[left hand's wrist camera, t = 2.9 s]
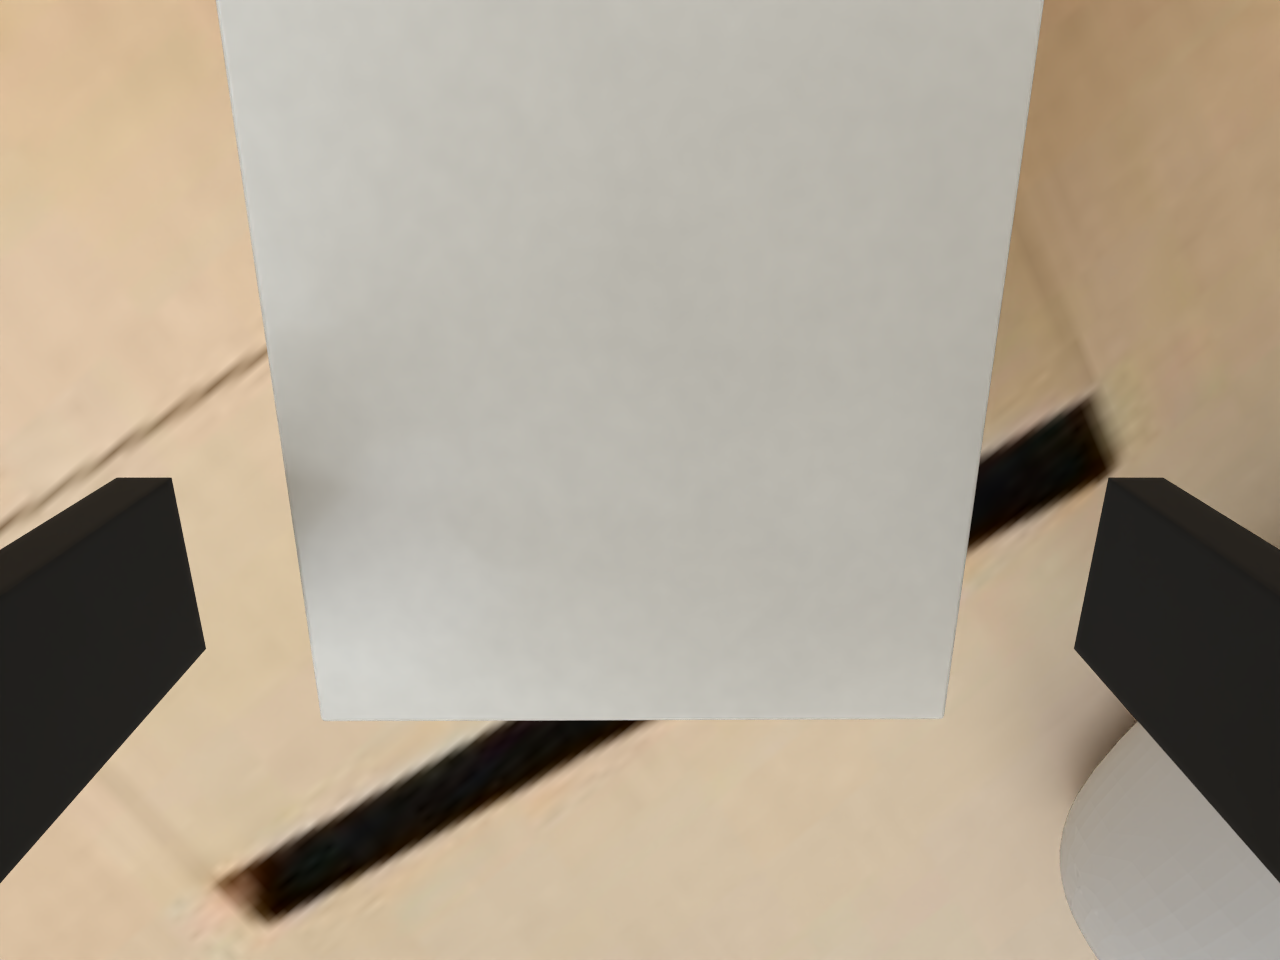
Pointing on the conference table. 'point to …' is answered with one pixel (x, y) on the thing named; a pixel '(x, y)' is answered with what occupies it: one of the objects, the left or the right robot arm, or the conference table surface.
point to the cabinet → (630, 342)
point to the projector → (1162, 866)
